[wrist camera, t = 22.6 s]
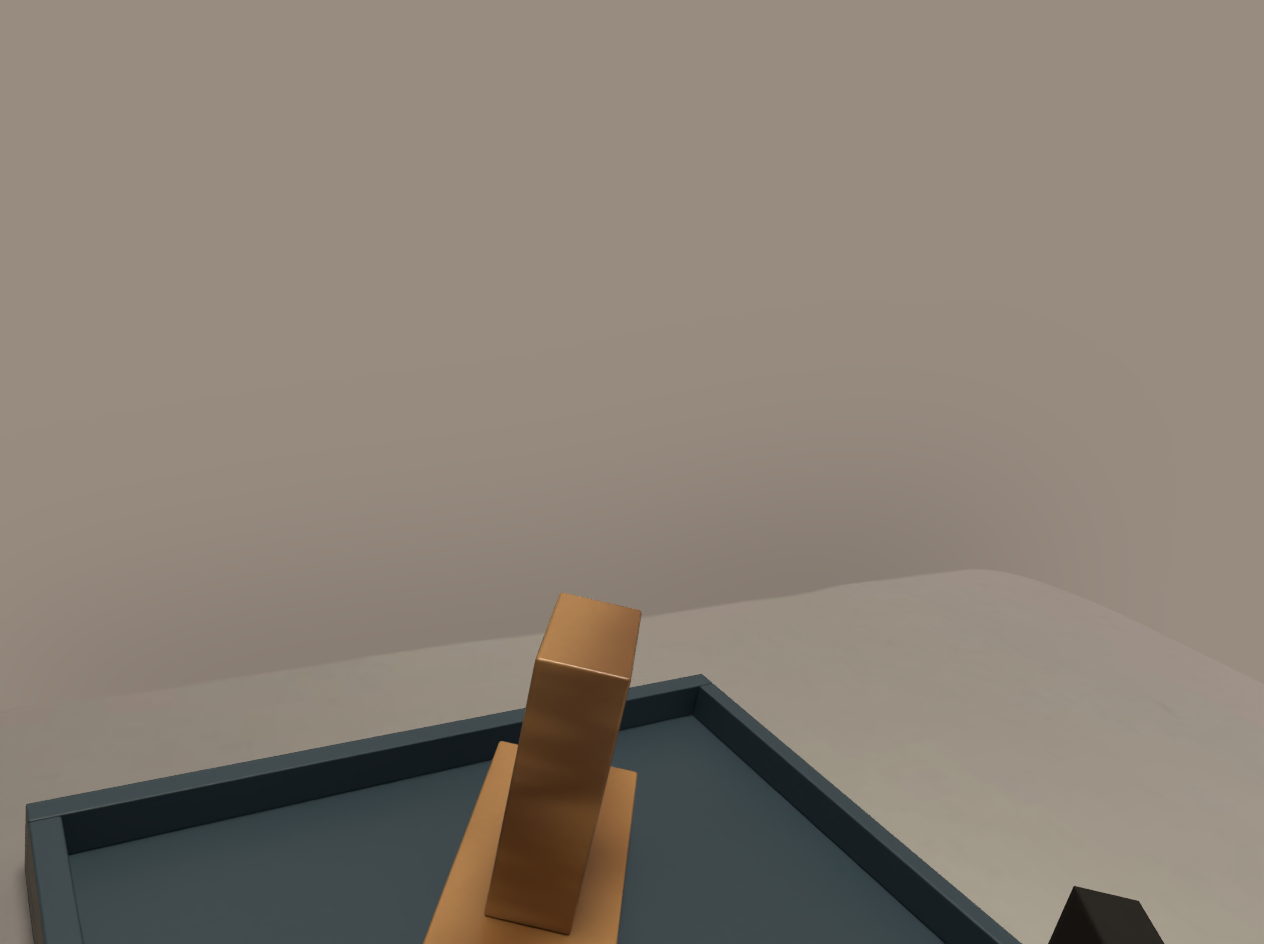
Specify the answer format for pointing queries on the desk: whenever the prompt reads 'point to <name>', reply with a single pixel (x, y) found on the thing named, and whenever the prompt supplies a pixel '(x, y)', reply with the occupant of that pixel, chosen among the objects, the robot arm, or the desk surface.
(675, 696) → the tray
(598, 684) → the wooden block on base
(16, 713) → the desk surface
